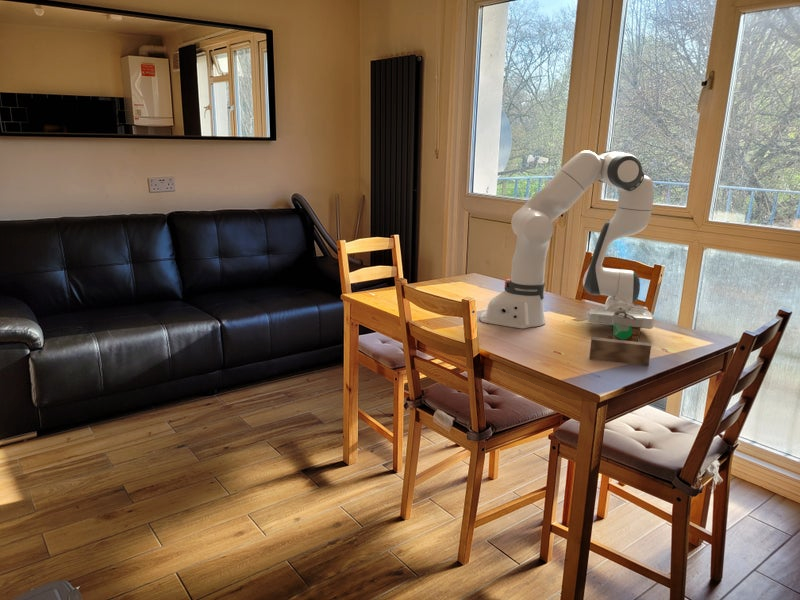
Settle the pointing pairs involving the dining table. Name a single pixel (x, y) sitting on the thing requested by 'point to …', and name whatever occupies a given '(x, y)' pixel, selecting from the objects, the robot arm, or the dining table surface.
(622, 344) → the walnut bar
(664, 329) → the dining table surface
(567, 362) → the dining table surface
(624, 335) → the food container
